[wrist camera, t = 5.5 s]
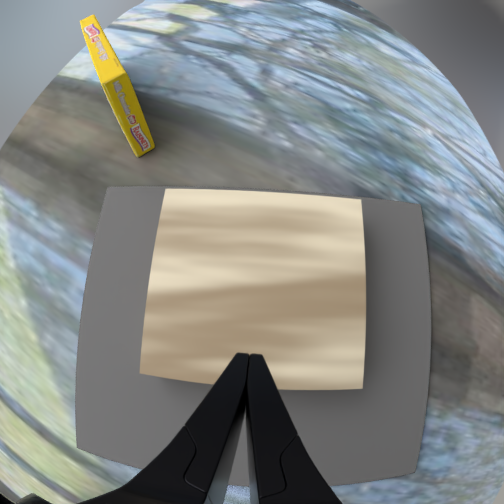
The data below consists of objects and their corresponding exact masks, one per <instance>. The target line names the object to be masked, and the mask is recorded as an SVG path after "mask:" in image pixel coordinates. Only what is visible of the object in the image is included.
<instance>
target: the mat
mask: <svg viewBox="0 0 504 504" xmlns="http://www.w3.org/2000/svg"><path fill="white" fill-rule="evenodd" d="M165 189H212V190H240V191H260V192H277V193H292V194H306V195H318V196H330V197H341V198H351V199H361V204H362V216H363V229H364V246H365V269H366V336H365V359H364V375H363V388H362V389H343V390H284V389H278V390H279V393H280V395H281V397H282V399H283V401H284V404H285V406H286V408H287V410H288V412H289V415H290V417H291V419H292V421H293V423H294V426H295V428H296V430H297V432H298V435H299V436H300V438H301V440H302V442H303V445H304V446H305V448H306V450H307V452H308V454H309V456H310V458H311V459H312V461H313V463H314V464H315V466H316V467H317V469H318V471H319V472H320V473H321V475H322V476H323V478H324V479H325V481H326V482H327V483H328V485H329V486H335V485H345V484H354V483H362V482H369V481H375V480H381V479H387V478H392V477H397V476H402V475H406V474H410V473H415V470H416V466H417V461H418V456H419V451H420V446H421V441H422V435H423V428H424V422H425V415H426V407H427V398H428V387H429V375H430V357H431V297H430V279H429V266H428V255H427V246H426V238H425V230H424V223H423V216H422V210H421V204H414V203H406V202H399V201H391V200H383V199H374V198H366V197H356V196H347V195H336V194H325V193H314V192H301V191H287V190H271V189H253V188H230V187H195V186H126V187H108V188H107V192H106V195H105V199H104V202H103V206H102V210H101V213H100V217H99V221H98V225H97V229H96V234H95V238H94V243H93V247H92V252H91V257H90V262H89V267H88V272H87V278H86V284H85V290H84V297H83V304H82V311H81V319H80V328H79V338H78V350H77V365H76V393H75V414H76V441H77V448H79V449H81V450H84V451H87V452H89V453H92V454H95V455H98V456H100V457H103V458H106V459H109V460H112V461H116V462H119V463H122V464H125V465H129V466H132V467H136V468H140V469H144V468H145V467H146V466H147V465H148V464H149V463H150V462H151V461H152V460H153V459H154V458H155V457H156V456H157V455H158V454H159V453H160V452H161V451H162V450H163V449H164V448H165V447H166V446H167V445H168V444H169V443H170V442H171V440H172V439H173V438H174V437H175V436H176V434H177V433H178V432H179V430H180V429H181V428H182V427H183V426H185V425H184V424H185V423H186V421H187V420H188V419H189V417H190V416H191V415H192V413H193V412H194V411H195V409H196V408H197V407H198V405H199V404H200V403H201V401H202V400H203V399H204V397H205V396H206V394H207V393H208V392H209V390H210V389H211V388H212V386H213V385H214V384H205V383H197V382H189V381H182V380H176V379H169V378H163V377H157V376H152V375H146V374H141V373H140V360H141V347H142V336H143V326H144V317H145V308H146V300H147V292H148V285H149V278H150V271H151V265H152V258H153V252H154V246H155V240H156V235H157V229H158V224H159V219H160V214H161V209H162V204H163V199H164V194H165ZM245 413H246V409H245ZM228 485H237V486H249V471H248V454H247V437H246V416H244V421H243V425H242V429H241V433H240V438H239V442H238V446H237V450H236V454H235V458H234V462H233V466H232V470H231V474H230V478H229V482H228Z"/></svg>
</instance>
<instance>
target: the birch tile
mask: <svg viewBox="0 0 504 504" xmlns="http://www.w3.org/2000/svg"><path fill="white" fill-rule="evenodd" d="M365 336H366V269H365V246H364V229H363V216H362V204H361V199H351V198H341V197H330V196H318V195H306V194H292V193H277V192H260V191H240V190H212V189H165V194H164V199H163V204H162V209H161V214H160V219H159V224H158V229H157V235H156V240H155V246H154V252H153V258H152V265H151V271H150V278H149V285H148V292H147V300H146V308H145V317H144V326H143V336H142V347H141V360H140V373H141V374H146V375H152V376H157V377H163V378H169V379H176V380H182V381H189V382H197V383H205V384H214V383H215V382H216V381H217V379H218V378H219V377H220V375H221V374H222V372H223V371H224V370H225V368H226V367H227V365H228V364H229V362H230V361H231V360H232V358H233V357H234V355H235V354H236V353H237V352H242V353H248V354H249V356H250V354H251V353H256V354H262V355H263V356H264V359H265V361H266V363H267V365H268V368H269V370H270V372H271V375H272V377H273V379H274V381H275V384H276V386H277V388H278V389H284V390H343V389H362V388H363V375H364V359H365Z"/></svg>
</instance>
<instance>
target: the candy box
mask: <svg viewBox="0 0 504 504" xmlns="http://www.w3.org/2000/svg"><path fill="white" fill-rule="evenodd" d="M80 24H81V28H82V31H83V34H84V37H85V40H86V43H87V46H88V49H89V52H90V55H91V58H92V61H93V64H94V66H95V69H96V72H97V74H98V77H99V80H100V82H101V85H102V87H103V90H104V92H105V94H106V97H107V99H108V101H109V103H110V105H111V108H112V110H113V112H114V114H115V116H116V118H117V120H118V122H119V124H120V126H121V128H122V130H123V132H124V134H125V136H126V138H127V140H128V142H129V144H130V146H131V148H132V150H133V152H134V154H135V155H136V157H140V156H142V155H143V154H145V153H147V152H148V151H150V150H152V149H153V148H155V144H154V142H153V139H152V136H151V133H150V130H149V128H148V125H147V123H146V121H145V118H144V115H143V112H142V110H141V107H140V104H139V102H138V99H137V96H136V94H135V91H134V89H133V86H132V83H131V81H130V78H129V76H128V74H127V73H126V71H125V70H124V68H123V66H122V65H121V63H120V61H119V59H118V57H117V56H116V54H115V52H114V50H113V48H112V46H111V45H110V43H109V41H108V39H107V37H106V36H105V34H104V32H103V30H102V28H101V26H100V24H99V22H98V21H97V19H96V17H95V15H91V16H89V17H87V18H85V19H83V20H81V21H80Z"/></svg>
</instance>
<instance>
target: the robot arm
mask: <svg viewBox="0 0 504 504" xmlns="http://www.w3.org/2000/svg"><path fill="white" fill-rule="evenodd" d="M245 409H246V413H245ZM244 416H246V437H247V454H248V471H249V486H250V502H251V504H342V502H341V501H340V500H339V499H338V497H337V496H336V495H335V493H334V492H333V491H332V489H331V488H330V486H329V485H328V483H327V482H326V481H325V479H324V478H323V476H322V475H321V473H320V472H319V471H318V469H317V467H316V466H315V464H314V463H313V461H312V459H311V458H310V456H309V454H308V452H307V450H306V448H305V446H304V445H303V442H302V440H301V438H300V436H299V435H298V432H297V430H296V428H295V426H294V423H293V421H292V419H291V417H290V415H289V412H288V410H287V408H286V406H285V404H284V401H283V399H282V397H281V395H280V393H279V390H278V388H277V386H276V384H275V381H274V379H273V377H272V375H271V372H270V370H269V368H268V365H267V363H266V361H265V359H264V356H263V355H262V354H256V353H251V354H250V356H249V354H248V353H242V352H237V353H236V354H235V355H234V357H233V358H232V360H231V361H230V362H229V364H228V365H227V367H226V368H225V370H224V371H223V372H222V374H221V375H220V377H219V378H218V379H217V381H216V382H215V383H214V385H213V386H212V388H211V389H210V390H209V392H208V393H207V394H206V396H205V397H204V399H203V400H202V401H201V403H200V404H199V405H198V407H197V408H196V409H195V411H194V412H193V413H192V415H191V416H190V417H189V419H188V420H187V421H186V423H185V424H184V425H185V426H183V427H182V428H181V429H180V430H179V432H178V433H177V434H176V436H175V437H174V438H173V439H172V440H171V442H170V443H169V444H168V445H167V446H166V447H165V448H164V449H163V450H162V451H161V452H160V453H159V454H158V455H157V456H156V457H155V458H154V459H153V460H152V461H151V462H150V463H149V464H148V465H147V466H146V467H145V468H144V469H143V470H141V471H140V472H139V473H138V474H137V475H136V476H135V477H134V478H133V479H131V480H130V481H129V482H128V483H126V484H125V485H123V486H122V487H120V488H118V489H116V490H114V491H111V492H108V493H106V494H103V495H100V496H98V497H95V498H92V499H89V500H86V501H83V502H80V503H77V504H223V502H224V498H225V494H226V490H227V486H228V482H229V478H230V474H231V470H232V466H233V462H234V458H235V454H236V450H237V446H238V442H239V438H240V433H241V429H242V425H243V421H244ZM0 504H52V503H50V502H48V501H46V500H44V499H43V498H41V497H39V496H37V495H36V494H34V493H31V494H29V495H27V496H25V497H23V498H22V499H20V500H19V501H17V503H15V502H13V501H12V500H10V499H9V498H7V497H6V496H5V495H3V494H2V493H0Z"/></svg>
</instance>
